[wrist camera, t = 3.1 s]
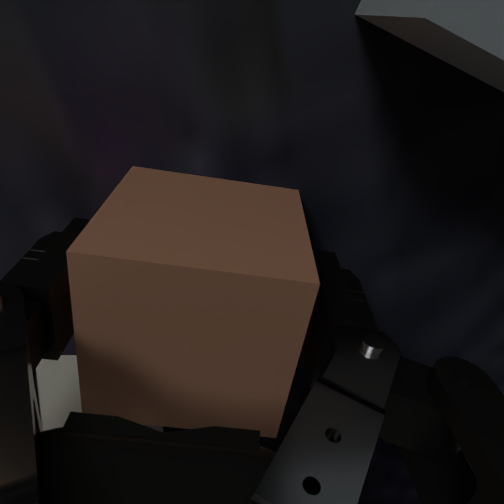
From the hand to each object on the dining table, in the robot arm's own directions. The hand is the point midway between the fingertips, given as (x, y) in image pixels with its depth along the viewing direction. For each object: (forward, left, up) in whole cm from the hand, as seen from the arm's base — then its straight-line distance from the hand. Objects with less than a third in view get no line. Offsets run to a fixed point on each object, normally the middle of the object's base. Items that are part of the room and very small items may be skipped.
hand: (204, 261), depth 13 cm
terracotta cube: (0, 0, -1) cm, 1 cm away
